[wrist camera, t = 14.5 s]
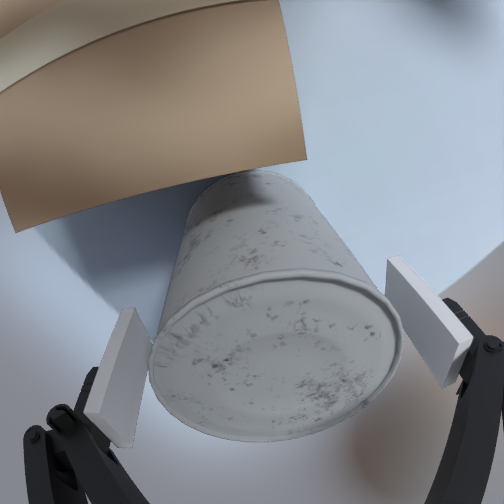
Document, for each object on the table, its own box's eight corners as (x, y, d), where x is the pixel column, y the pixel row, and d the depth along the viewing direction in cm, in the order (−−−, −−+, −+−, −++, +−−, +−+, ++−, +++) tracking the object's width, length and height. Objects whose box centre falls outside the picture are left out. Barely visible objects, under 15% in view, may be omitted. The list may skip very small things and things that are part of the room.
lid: (-13, -30, 4) (-23, -33, 4) (236, -128, 4) (237, -138, 3) (24, 225, 11) (14, 233, 10) (301, 155, 11) (307, 160, 10)
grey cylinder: (220, 312, 24) (221, 456, 13) (159, 206, 20) (92, 334, 9) (335, 267, 23) (406, 397, 12) (296, 148, 19) (390, 220, 8)
